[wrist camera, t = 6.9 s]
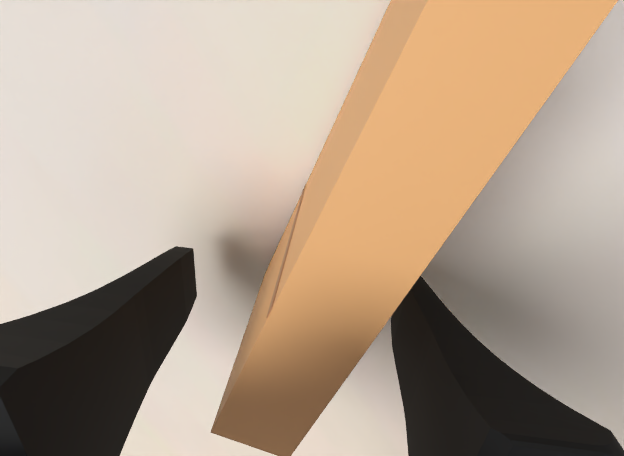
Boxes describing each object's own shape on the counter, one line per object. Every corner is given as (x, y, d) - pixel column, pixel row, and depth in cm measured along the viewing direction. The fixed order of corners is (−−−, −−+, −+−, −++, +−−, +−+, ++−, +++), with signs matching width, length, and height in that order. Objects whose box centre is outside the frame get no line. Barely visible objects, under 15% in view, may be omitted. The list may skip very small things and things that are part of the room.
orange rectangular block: (312, 292, 15) (288, 459, 9) (264, 273, 15) (209, 432, 9) (478, -7, 10) (660, -56, 4) (410, -43, 10) (501, -151, 4)
